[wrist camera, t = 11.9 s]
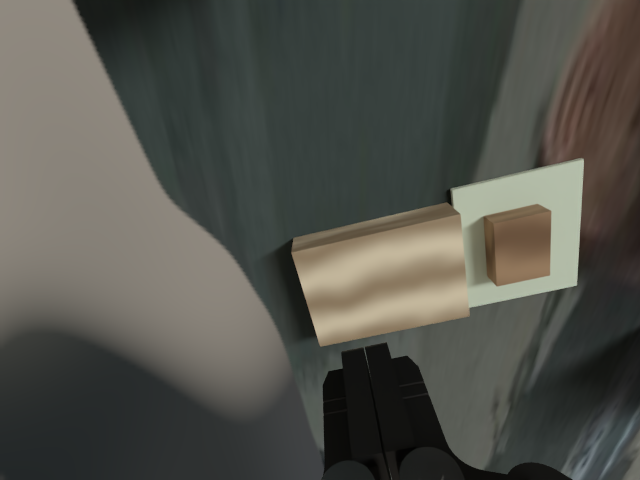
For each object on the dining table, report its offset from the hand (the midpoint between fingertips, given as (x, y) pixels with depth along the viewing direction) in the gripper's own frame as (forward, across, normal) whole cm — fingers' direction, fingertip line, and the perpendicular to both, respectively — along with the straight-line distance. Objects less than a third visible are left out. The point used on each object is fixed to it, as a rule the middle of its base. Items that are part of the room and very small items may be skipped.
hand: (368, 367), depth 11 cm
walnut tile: (+27, -19, +13) cm, 35 cm away
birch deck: (+29, -3, +13) cm, 32 cm away
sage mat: (+29, -20, +13) cm, 37 cm away
